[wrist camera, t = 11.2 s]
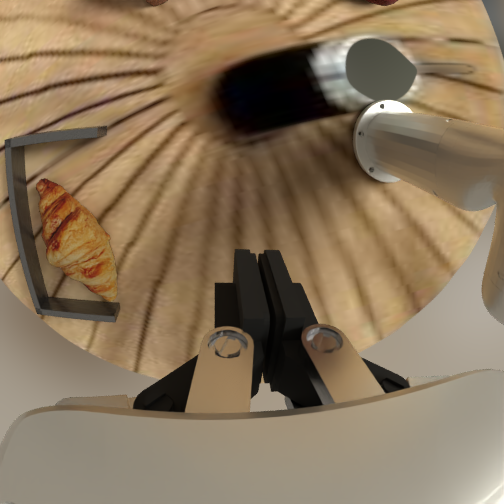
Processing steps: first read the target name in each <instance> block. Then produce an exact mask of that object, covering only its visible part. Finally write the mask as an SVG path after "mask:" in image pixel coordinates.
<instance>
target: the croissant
mask: <svg viewBox="0 0 504 504" xmlns="http://www.w3.org/2000/svg"><path fill="white" fill-rule="evenodd" d="M36 189H37V191H38V192H39V195H40V201H39V212H40V214H41V218H42V219H41V222H42V224H43V233H42V234H41V235H42V238H43V240H44V242H45V245H46V247H47V249H46V256H47V259H48V261H49V263H50V264H51V265H54V266H55V267H61V269H62V270H63V272H64V273H65V274H66V275H67V276H69V277H70V278H71V279H74V280H77V281H80V282H82V283H83V284H84V285H85V286H86V287H87V288H88V289H89V290H90V291H91V292H94V293H96V294H99V295H101V296H102V297H103V298H104V299H106V300H107V301H109V302H111V301H114V300H115V298H116V296H117V272H116V264H115V259H114V255H113V253H112V249H111V246H110V243H109V240H110V236H109V235H108V234H107V233H106V232H105V231H104V230H103V228H102V227H100V226H99V225H98V222H97V220H96V218H95V217H94V216H93V215H92V214H91V213H90V212H89V211H88V210H87V209H86V208H85V207H83V206H82V205H81V204H80V203H79V202H78V201H77V200H76V199H74V198H73V197H72V196H71V195H70V194H69V193H67V192H66V190H65V189H64V188H63V187H62V186H60V185H58V184H56V183H54V182H51V181H49V180H48V179H45V178H44V179H41V180H40V181H39V182H38V183H37V185H36Z"/></svg>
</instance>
